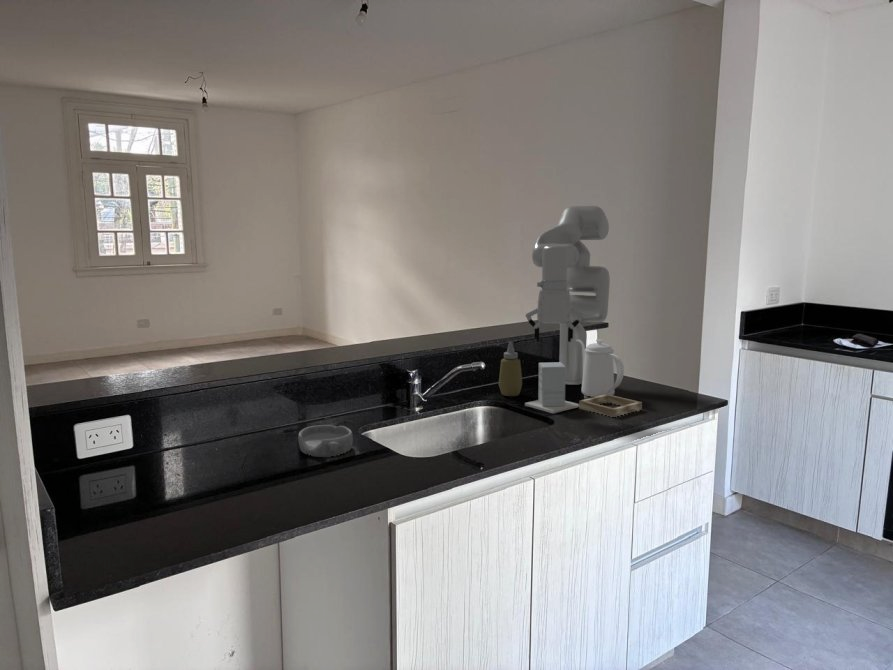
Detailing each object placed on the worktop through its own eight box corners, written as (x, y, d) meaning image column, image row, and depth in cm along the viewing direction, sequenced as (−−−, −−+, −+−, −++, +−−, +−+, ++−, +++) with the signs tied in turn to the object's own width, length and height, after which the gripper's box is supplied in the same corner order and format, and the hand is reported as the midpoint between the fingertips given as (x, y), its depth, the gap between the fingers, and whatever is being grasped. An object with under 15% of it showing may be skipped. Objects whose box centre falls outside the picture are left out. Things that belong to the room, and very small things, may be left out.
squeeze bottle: (496, 396, 222) (496, 343, 219) (501, 391, 229) (501, 339, 227) (519, 398, 220) (520, 344, 217) (524, 392, 227) (525, 340, 224)
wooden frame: (606, 401, 215) (606, 394, 214) (641, 410, 204) (641, 402, 204) (578, 408, 207) (579, 400, 206) (614, 417, 196) (614, 409, 196)
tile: (551, 399, 218) (551, 396, 218) (579, 406, 209) (579, 404, 209) (524, 405, 211) (524, 403, 211) (553, 413, 201) (553, 410, 201)
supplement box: (560, 400, 214) (561, 361, 212) (565, 406, 206) (566, 366, 204) (537, 400, 213) (538, 362, 211) (541, 406, 206) (542, 366, 204)
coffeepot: (587, 384, 238) (588, 332, 235) (634, 400, 216) (636, 343, 213) (562, 388, 233) (563, 335, 230) (607, 404, 211) (609, 346, 208)
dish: (342, 461, 162) (341, 441, 161) (289, 457, 165) (288, 438, 164) (361, 442, 176) (361, 424, 175) (312, 439, 179) (311, 421, 178)
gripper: (525, 287, 201) (525, 342, 204) (584, 287, 199) (582, 343, 202) (525, 284, 208) (525, 338, 211) (582, 284, 206) (580, 339, 209)
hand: (553, 340), depth 207 cm, fingers open, 9 cm apart
